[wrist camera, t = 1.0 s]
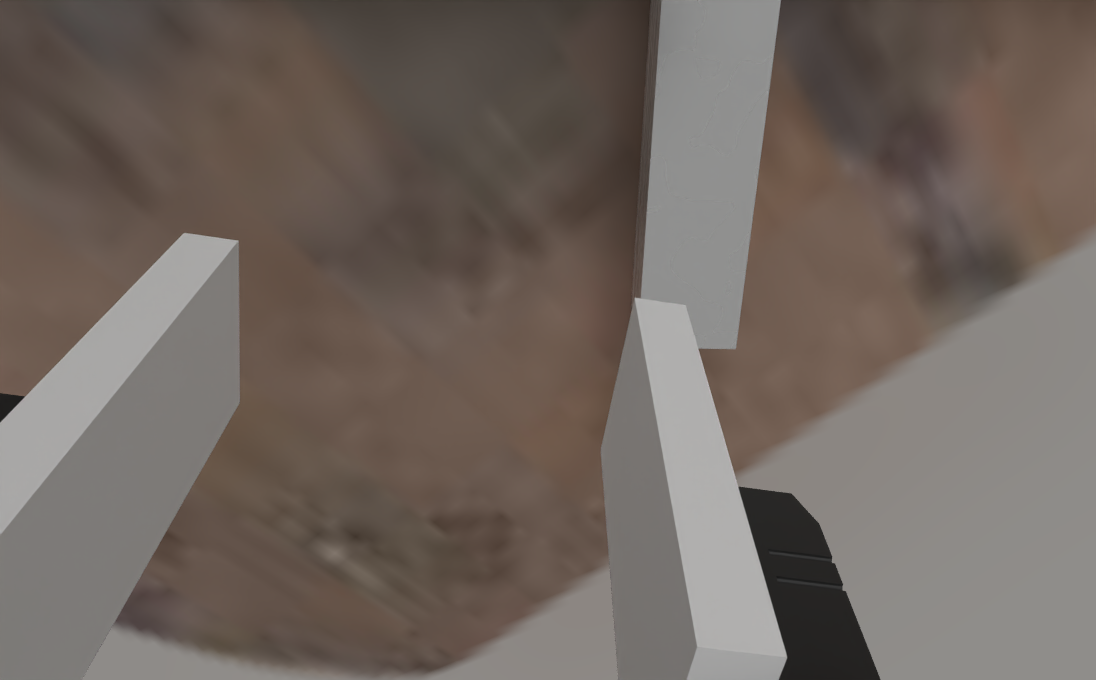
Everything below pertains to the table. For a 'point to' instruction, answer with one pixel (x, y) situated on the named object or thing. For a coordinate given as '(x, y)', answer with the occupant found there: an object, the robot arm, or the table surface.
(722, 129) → the bar
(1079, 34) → the table surface
